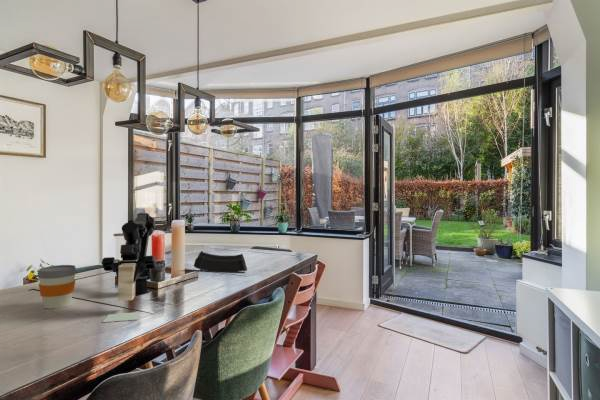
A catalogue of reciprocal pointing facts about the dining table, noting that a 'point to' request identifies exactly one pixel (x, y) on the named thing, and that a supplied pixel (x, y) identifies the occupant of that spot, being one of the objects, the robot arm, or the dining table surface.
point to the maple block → (126, 281)
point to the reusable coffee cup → (57, 285)
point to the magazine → (220, 263)
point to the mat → (122, 317)
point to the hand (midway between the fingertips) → (126, 281)
